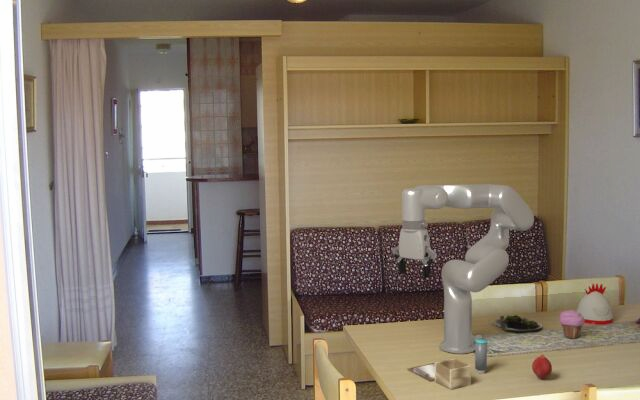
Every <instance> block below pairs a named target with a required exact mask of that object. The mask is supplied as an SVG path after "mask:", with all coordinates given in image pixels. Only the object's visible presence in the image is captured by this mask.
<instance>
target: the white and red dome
mask: <svg viewBox="0 0 640 400" xmlns="http://www.w3.org/2000/svg"><path fill="white" fill-rule="evenodd" d="M591 285H592V286H588V291H587V289H585V288H584V291H585V295H584V296H583V297H582V298H581V300H579V302H578V305H577V308H576V311H577V312H579V313H580V314H581V315H582V316H583V317H584V320H585V322H584V324H588V325H597V326H599V325H600V326H603V325H604V326H605V325H610V324H612V323H614V315H613V310H612V307H611V305H610V301H609V300H608V298H607V297H606V296H605V295H604V292H605V291H606V289H607V287H606V286H604V287H603V283H600V285H599V284H598V283H592V284H591Z"/></svg>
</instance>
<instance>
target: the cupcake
mask: <svg viewBox="0 0 640 400" xmlns="http://www.w3.org/2000/svg"><path fill="white" fill-rule="evenodd" d="M558 318H559V321H558V322H559V323H560V325H561V327H562V333H563V336H564V337H565V338H570V339H576V338H578V337H580V336H581V332H582V327H583V326H584V325H585V323H584V322H585V320H584V317H583V316H582V315H581V314H580V313H579V312H577V310H563V311H562V312H561V313H560V314H559V317H558Z"/></svg>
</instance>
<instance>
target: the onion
mask: <svg viewBox="0 0 640 400" xmlns="http://www.w3.org/2000/svg"><path fill="white" fill-rule="evenodd" d="M531 367H532V368H531V369H532V372H533V374H534V375H535V376H537V378H539V379H540V380H544V379H546V378H547V377H548V376H550V375H551V373H552V371H553V367H552V363H551V361H550V360H549V359H548V358H547V357H545V354H544V353H542V354H541V355H540V356H537V357H536V358H535V359H534V360H533V362H532V366H531Z"/></svg>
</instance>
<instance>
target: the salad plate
mask: <svg viewBox="0 0 640 400" xmlns="http://www.w3.org/2000/svg"><path fill="white" fill-rule="evenodd" d="M493 324H494V325H495V326H496V327H497V328H499V329H501V330H502V331H504V332H506V333H511V334H532V333H538V332H541V330H543V327H544V326H543V324H541V323H539V322H536V321H534V320H532V319H531V318H527V317H521V316H519V315H517V314H514V315H510V314H507V315H506V316H504V315H501V316H499V319H495V320H493Z"/></svg>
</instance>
